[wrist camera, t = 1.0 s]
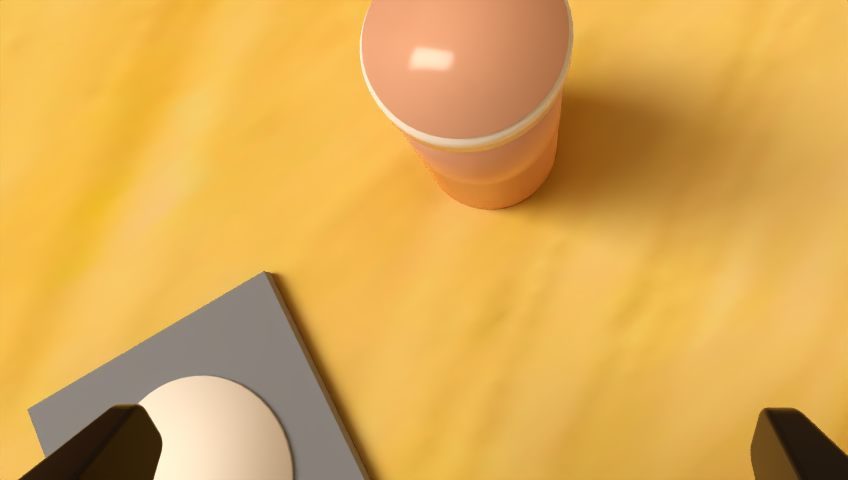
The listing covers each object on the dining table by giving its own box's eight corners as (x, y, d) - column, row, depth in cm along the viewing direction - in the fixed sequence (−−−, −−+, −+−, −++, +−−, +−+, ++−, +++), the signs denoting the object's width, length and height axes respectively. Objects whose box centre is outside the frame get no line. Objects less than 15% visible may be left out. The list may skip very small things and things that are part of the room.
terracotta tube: (579, 183, 22) (607, 91, 14) (449, 231, 23) (394, 173, 14) (531, 61, 23) (528, -100, 14) (407, 110, 24) (331, -16, 15)
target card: (403, 546, 22) (398, 554, 21) (143, 682, 23) (129, 695, 22) (270, 272, 24) (261, 270, 23) (39, 407, 25) (23, 410, 24)
